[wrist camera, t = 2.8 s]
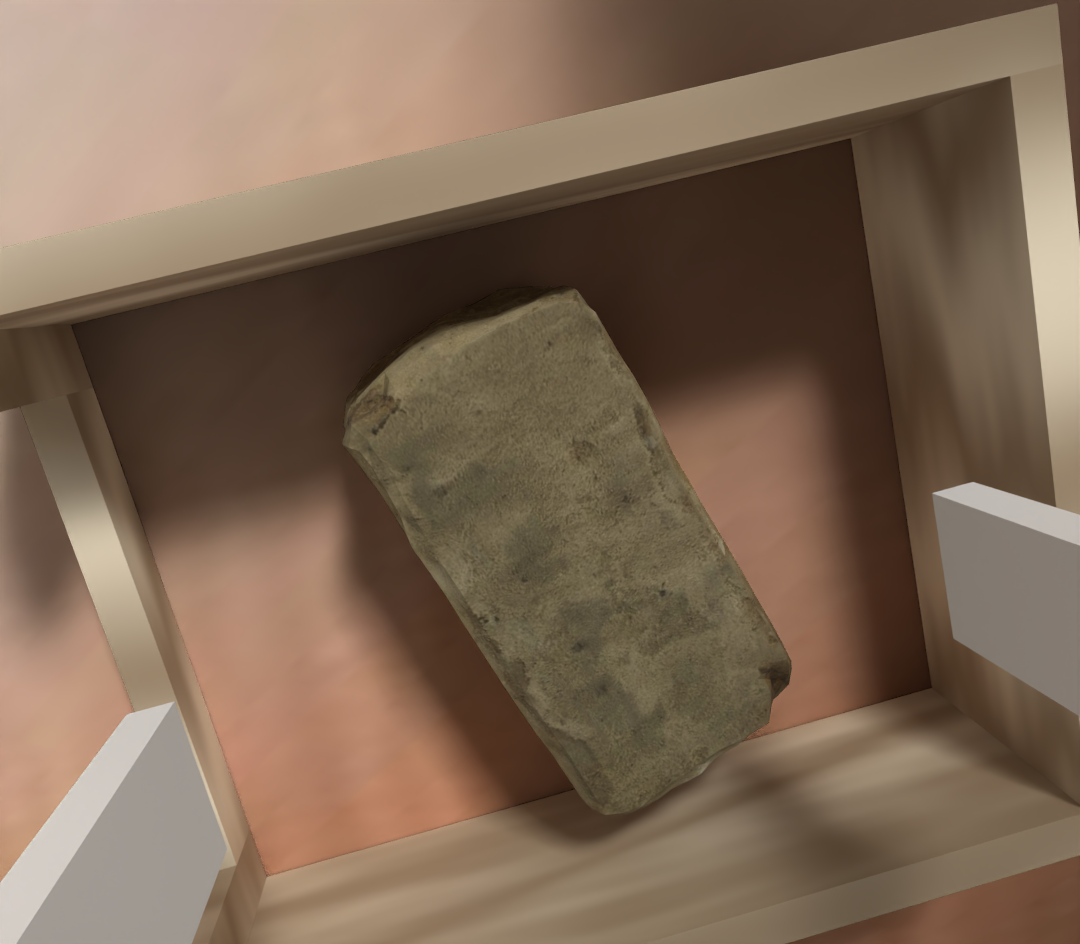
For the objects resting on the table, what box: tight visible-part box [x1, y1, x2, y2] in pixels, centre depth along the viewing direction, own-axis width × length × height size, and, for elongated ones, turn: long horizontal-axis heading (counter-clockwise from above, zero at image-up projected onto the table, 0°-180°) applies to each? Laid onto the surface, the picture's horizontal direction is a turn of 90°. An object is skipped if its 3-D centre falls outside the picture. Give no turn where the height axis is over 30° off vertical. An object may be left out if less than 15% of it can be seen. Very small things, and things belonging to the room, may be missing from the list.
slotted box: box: [0, 3, 1080, 944], centre depth 19 cm, size 17×21×6 cm
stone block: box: [342, 286, 792, 815], centre depth 20 cm, size 6×12×5 cm, turn 32°
